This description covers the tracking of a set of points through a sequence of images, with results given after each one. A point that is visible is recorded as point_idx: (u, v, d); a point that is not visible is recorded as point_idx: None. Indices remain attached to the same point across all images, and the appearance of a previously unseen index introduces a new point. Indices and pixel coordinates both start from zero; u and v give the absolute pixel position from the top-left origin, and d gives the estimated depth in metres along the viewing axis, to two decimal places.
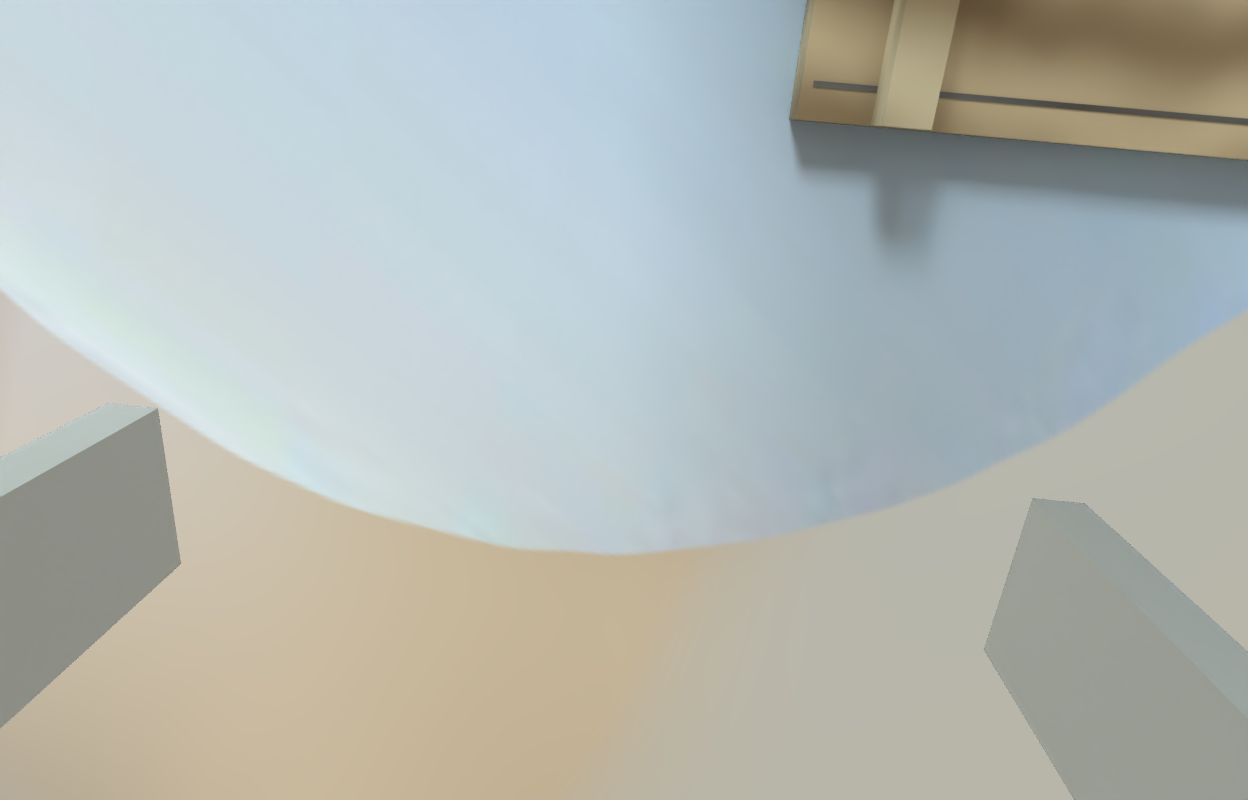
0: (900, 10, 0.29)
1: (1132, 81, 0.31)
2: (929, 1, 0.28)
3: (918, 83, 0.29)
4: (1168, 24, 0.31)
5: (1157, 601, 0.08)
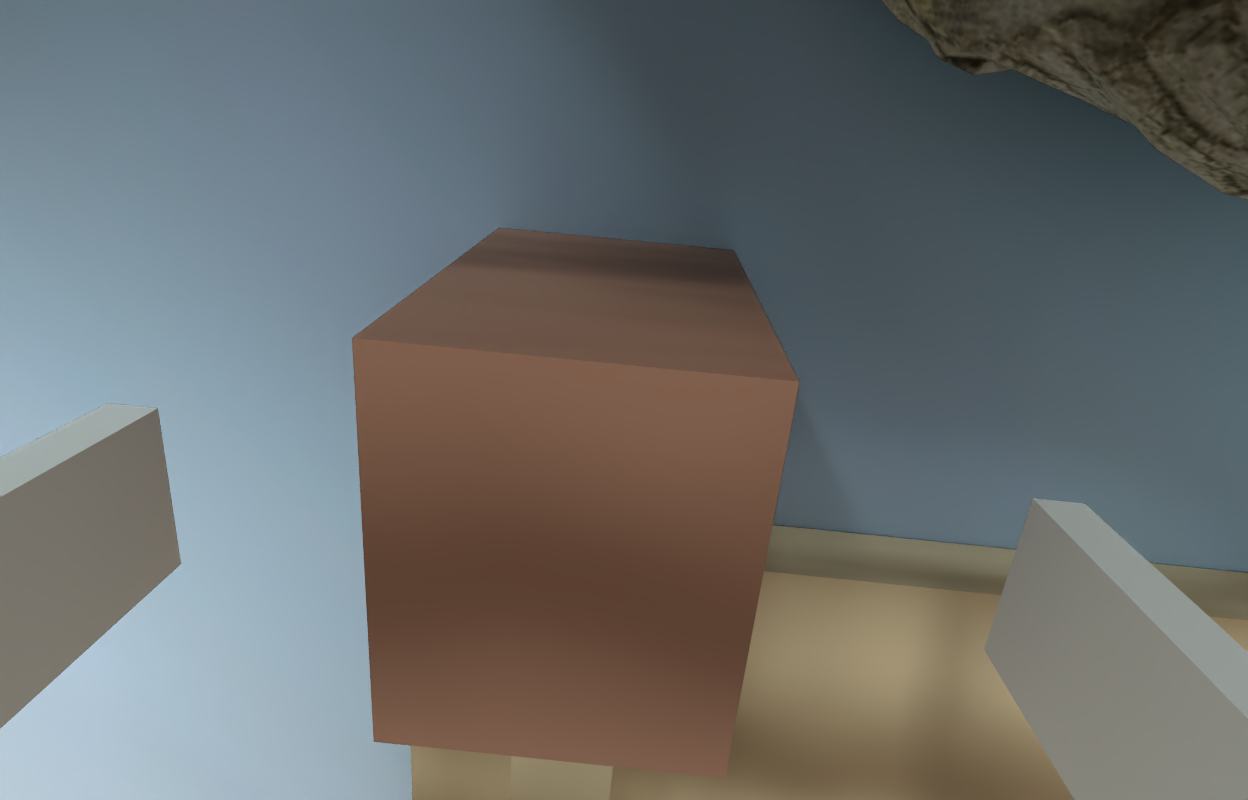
0: None
1: None
2: None
3: None
4: (1008, 775, 0.18)
5: (1157, 601, 0.08)
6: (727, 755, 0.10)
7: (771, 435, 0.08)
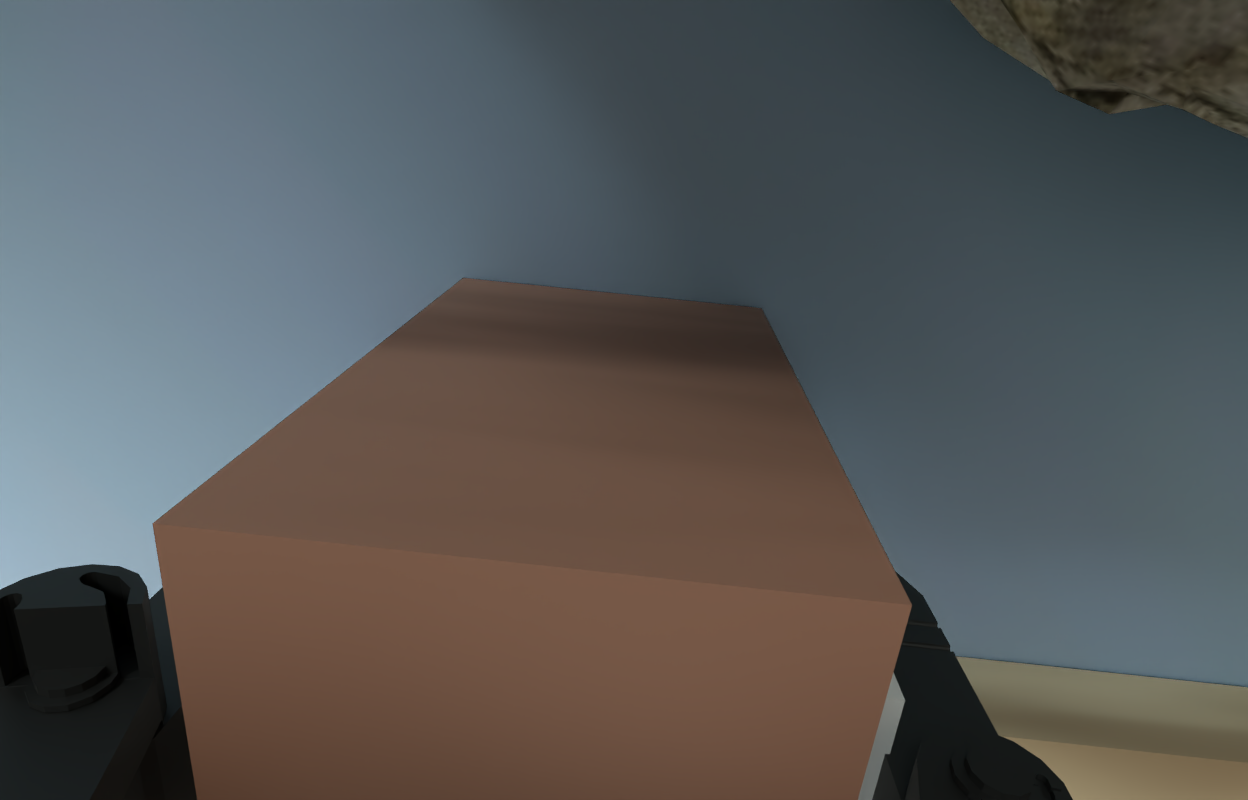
0: None
1: None
2: None
3: None
4: None
5: None
6: None
7: (859, 684, 0.05)
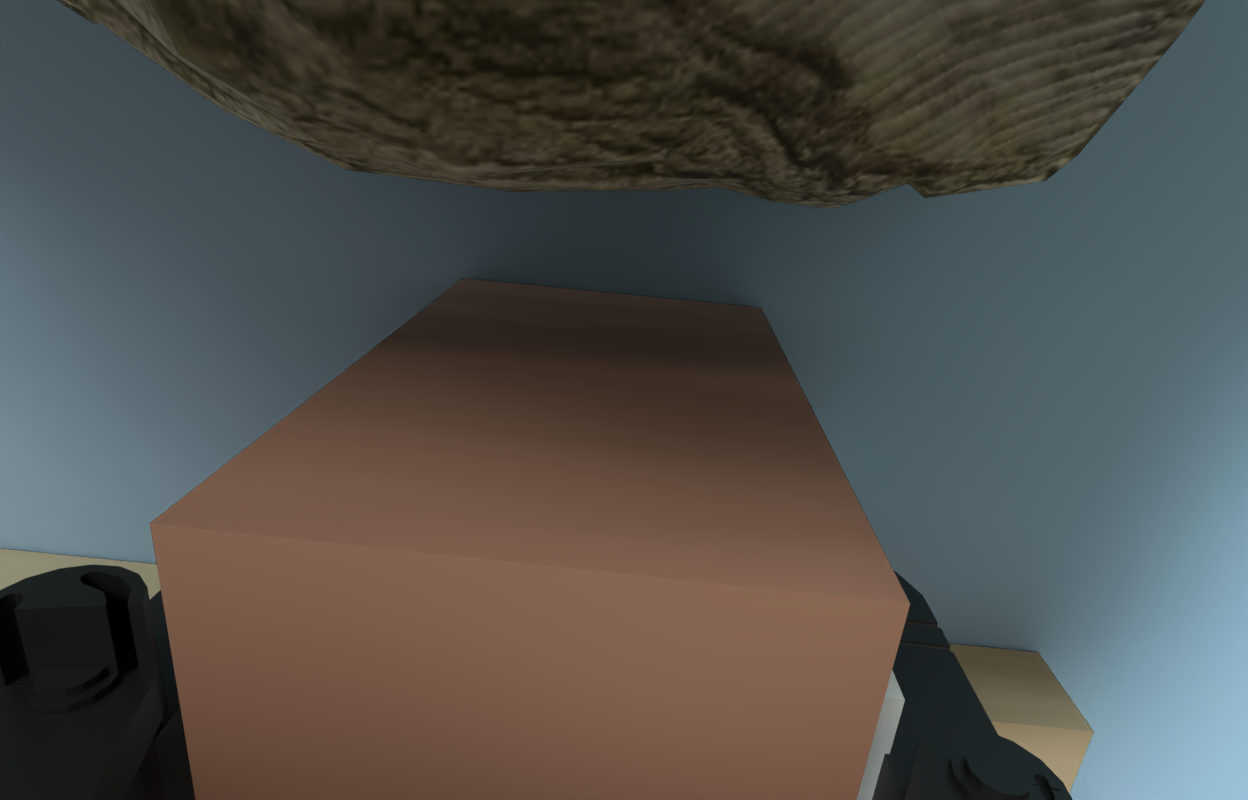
0: None
1: None
2: None
3: None
4: None
5: None
6: None
7: (858, 683, 0.05)
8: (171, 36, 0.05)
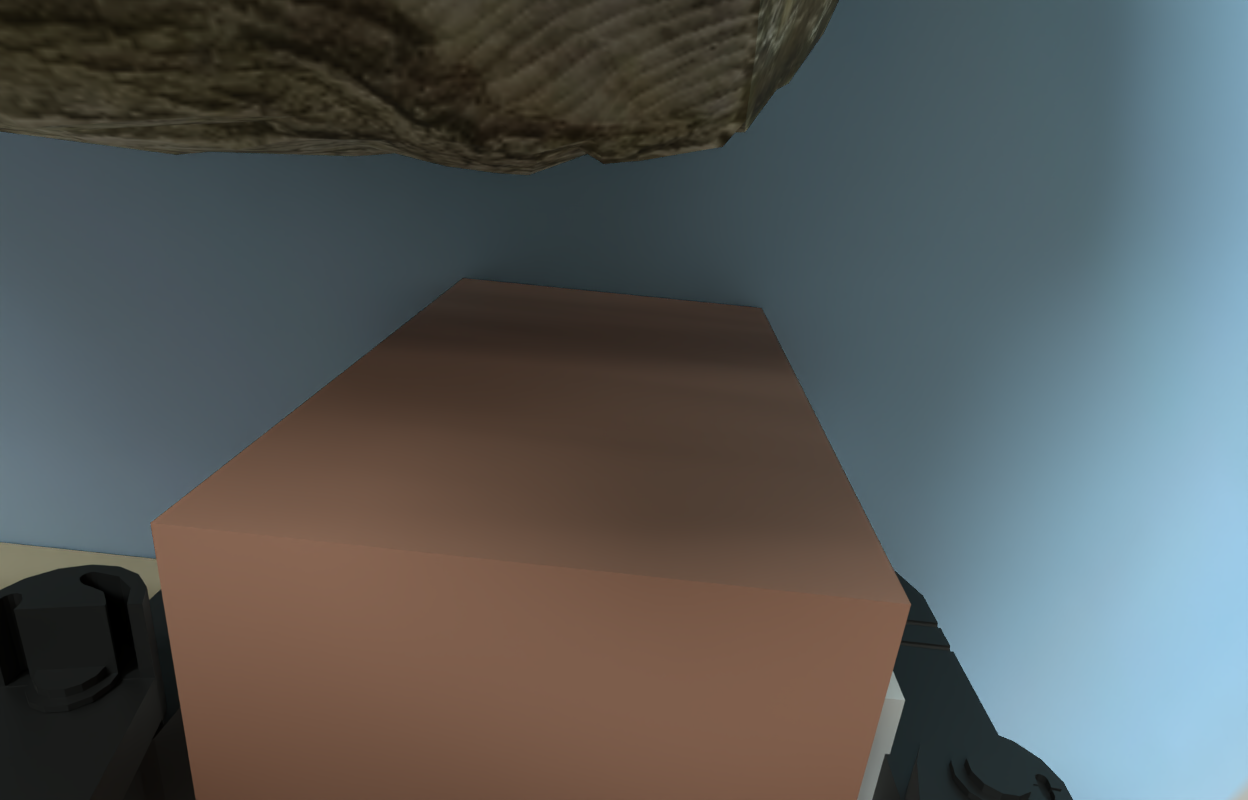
0: None
1: None
2: None
3: None
4: None
5: None
6: None
7: (858, 683, 0.05)
8: None
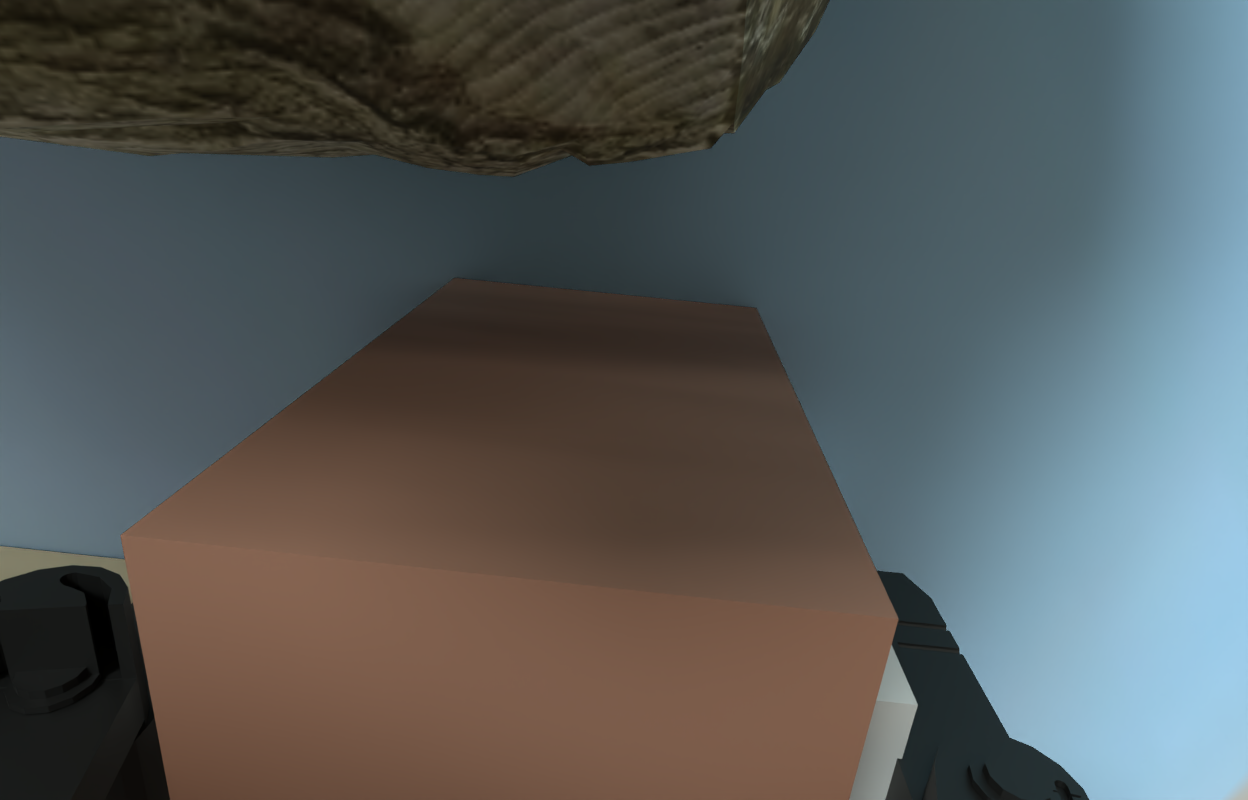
0: None
1: None
2: None
3: None
4: None
5: None
6: None
7: (845, 698, 0.05)
8: None
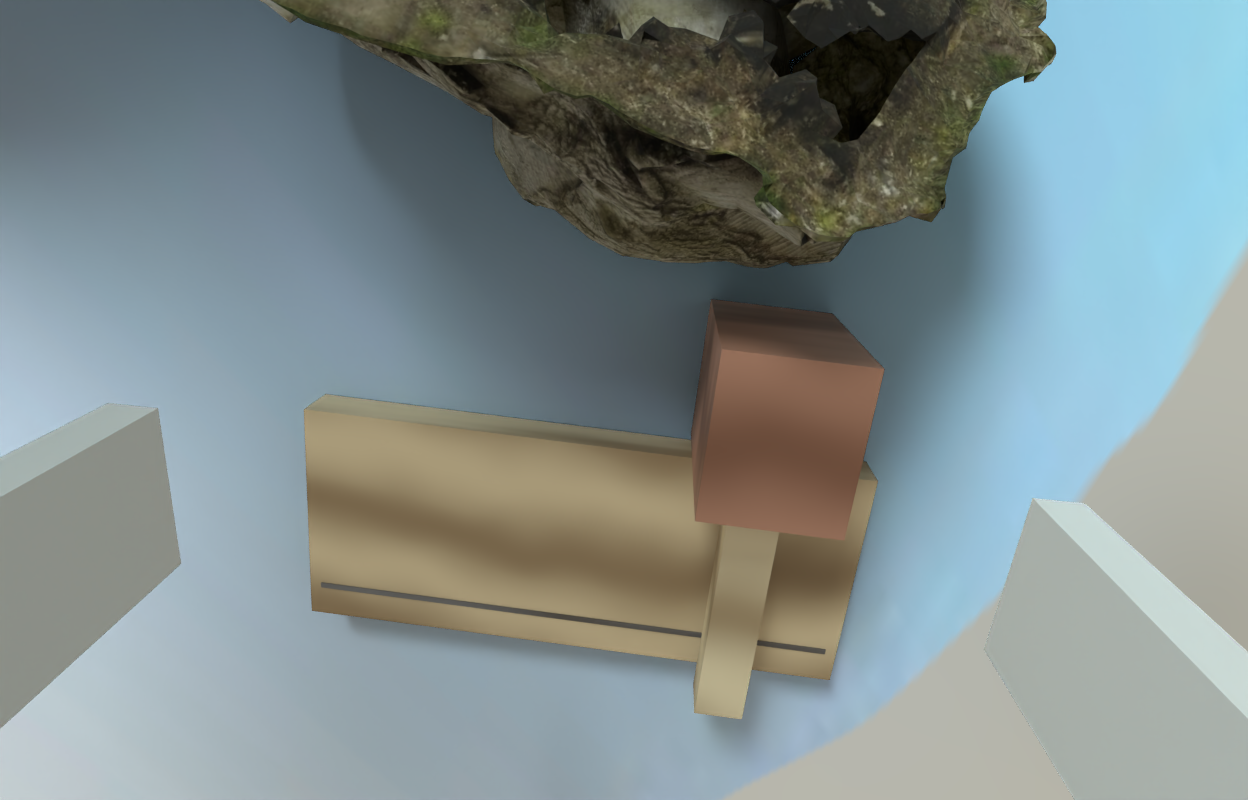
0: (708, 619, 0.30)
1: (615, 601, 0.33)
2: (731, 625, 0.29)
3: (726, 684, 0.30)
4: (637, 559, 0.32)
5: (1157, 601, 0.08)
6: (846, 528, 0.24)
7: (873, 389, 0.23)
8: (605, 230, 0.23)
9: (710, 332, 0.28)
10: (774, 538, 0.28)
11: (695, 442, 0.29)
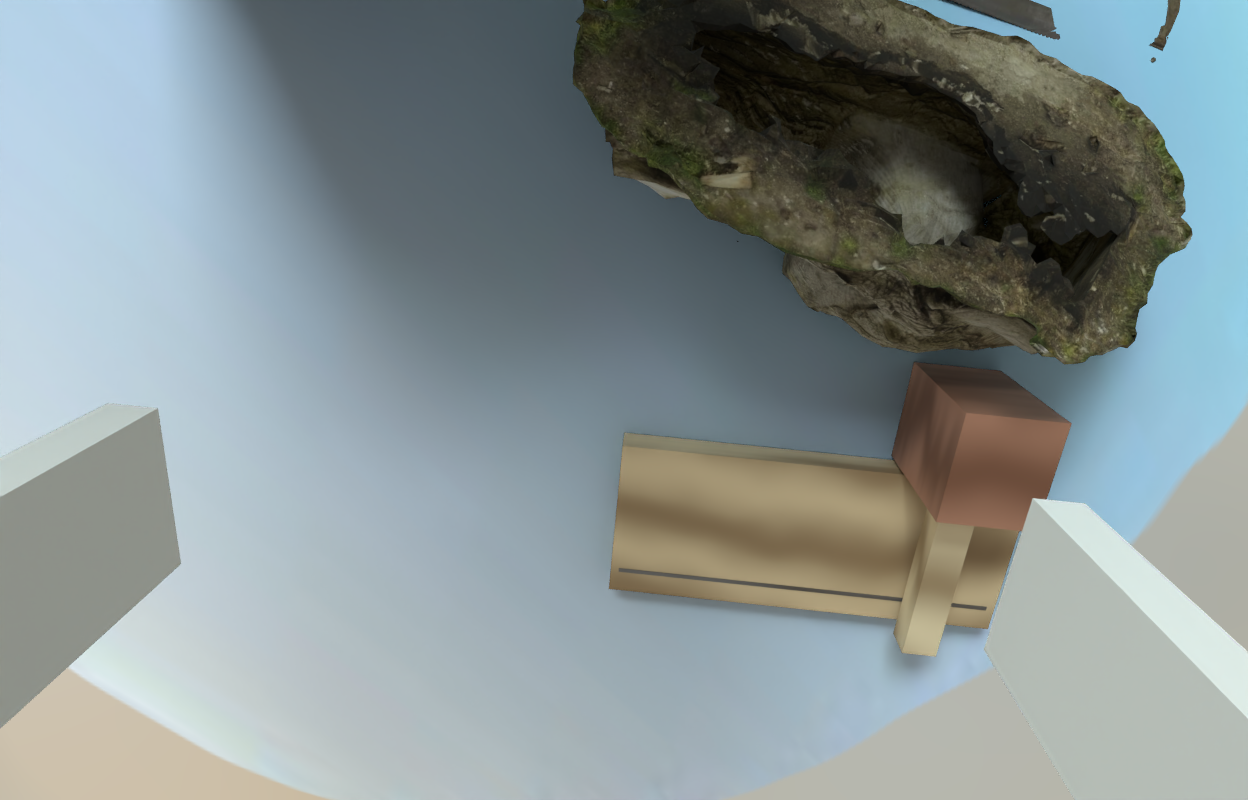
0: (915, 586, 0.43)
1: (835, 576, 0.46)
2: (934, 590, 0.42)
3: (927, 631, 0.43)
4: (854, 546, 0.45)
5: (1157, 601, 0.08)
6: None
7: (1063, 436, 0.35)
8: (887, 337, 0.36)
9: (924, 389, 0.41)
10: (970, 530, 0.41)
11: (911, 465, 0.42)
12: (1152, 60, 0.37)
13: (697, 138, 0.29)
